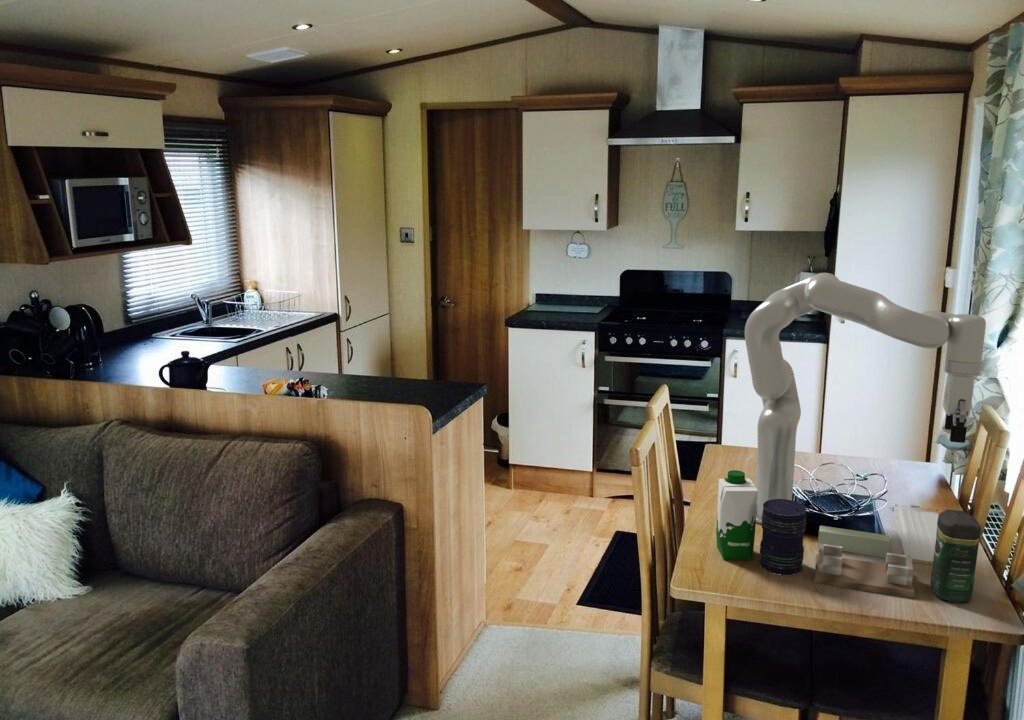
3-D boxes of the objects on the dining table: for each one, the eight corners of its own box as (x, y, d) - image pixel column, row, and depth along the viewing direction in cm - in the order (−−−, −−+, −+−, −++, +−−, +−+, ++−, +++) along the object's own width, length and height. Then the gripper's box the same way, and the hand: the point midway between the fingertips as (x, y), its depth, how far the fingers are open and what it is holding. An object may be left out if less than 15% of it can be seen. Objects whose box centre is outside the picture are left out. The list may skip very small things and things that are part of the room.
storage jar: (751, 567, 201) (755, 508, 198) (769, 552, 209) (773, 495, 205) (792, 580, 195) (797, 519, 192) (809, 564, 202) (813, 505, 199)
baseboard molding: (899, 563, 204) (954, 570, 200) (900, 551, 203) (956, 559, 200) (888, 512, 233) (937, 518, 229) (889, 502, 232) (938, 508, 228)
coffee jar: (976, 606, 183) (986, 526, 179) (936, 602, 185) (945, 522, 181) (964, 584, 192) (974, 508, 188) (926, 581, 194) (935, 504, 190)
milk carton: (747, 545, 213) (752, 469, 208) (757, 561, 204) (762, 483, 199) (712, 545, 213) (715, 469, 208) (720, 562, 204) (724, 483, 199)
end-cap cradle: (814, 582, 194) (816, 560, 193) (815, 559, 205) (817, 538, 203) (914, 598, 187) (916, 575, 185) (910, 573, 198) (912, 551, 196)
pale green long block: (817, 547, 212) (819, 530, 211) (818, 541, 215) (819, 525, 214) (887, 558, 206) (889, 541, 204) (887, 552, 209) (889, 535, 208)
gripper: (940, 357, 211) (933, 423, 215) (949, 374, 195) (941, 445, 199) (974, 359, 209) (966, 426, 213) (986, 376, 193) (977, 448, 197)
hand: (954, 435), depth 206 cm, fingers open, 9 cm apart
